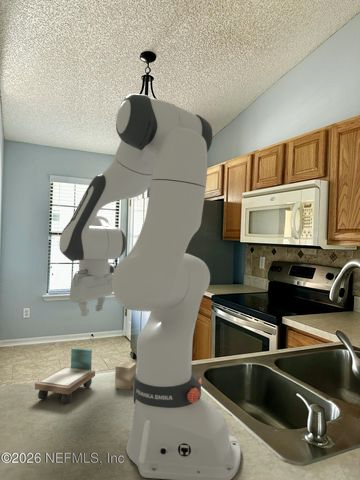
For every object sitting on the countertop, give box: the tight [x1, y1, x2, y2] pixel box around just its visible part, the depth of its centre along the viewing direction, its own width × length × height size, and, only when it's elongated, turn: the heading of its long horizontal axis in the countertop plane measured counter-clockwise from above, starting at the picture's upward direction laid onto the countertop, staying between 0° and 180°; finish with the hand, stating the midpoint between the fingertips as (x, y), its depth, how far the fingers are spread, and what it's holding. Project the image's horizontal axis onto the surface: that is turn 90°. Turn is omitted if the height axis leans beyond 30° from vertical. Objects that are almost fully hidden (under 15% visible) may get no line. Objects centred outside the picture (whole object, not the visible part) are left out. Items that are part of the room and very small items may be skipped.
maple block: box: [114, 361, 137, 390], centre depth 98 cm, size 4×4×6 cm
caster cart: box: [34, 347, 96, 404], centre depth 92 cm, size 10×14×10 cm
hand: (92, 313), depth 104 cm, fingers open, 7 cm apart
